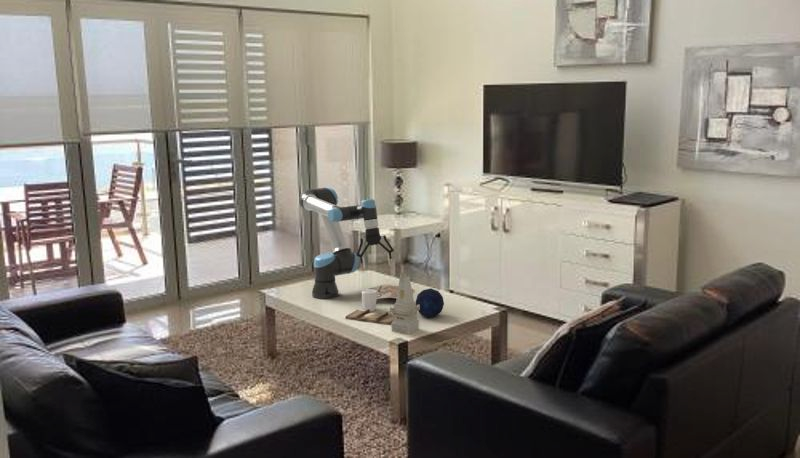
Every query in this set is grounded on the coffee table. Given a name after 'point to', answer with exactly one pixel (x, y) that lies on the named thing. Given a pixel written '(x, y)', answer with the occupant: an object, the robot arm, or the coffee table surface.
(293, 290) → the coffee table surface
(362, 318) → the brown wooden board
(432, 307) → the decorative orb
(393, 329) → the miniature monument
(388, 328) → the coffee table surface
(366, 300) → the white cup
